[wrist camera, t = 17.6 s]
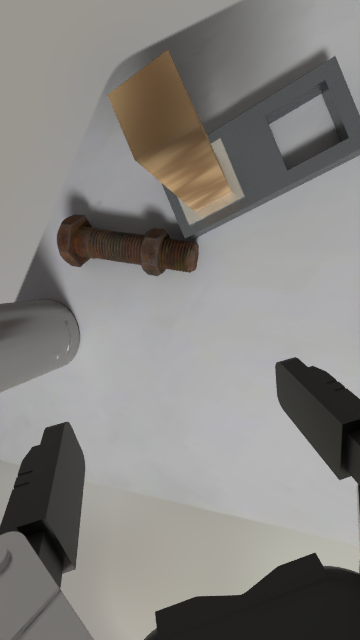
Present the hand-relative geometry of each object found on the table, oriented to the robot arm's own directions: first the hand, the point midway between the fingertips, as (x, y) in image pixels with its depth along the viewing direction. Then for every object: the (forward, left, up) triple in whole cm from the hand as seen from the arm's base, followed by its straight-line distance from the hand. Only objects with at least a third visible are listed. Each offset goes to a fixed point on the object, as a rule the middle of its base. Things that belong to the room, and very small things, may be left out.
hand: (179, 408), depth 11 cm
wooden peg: (-3, +14, -20) cm, 25 cm away
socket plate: (+2, +16, -23) cm, 28 cm away
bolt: (-11, +9, -23) cm, 27 cm away
